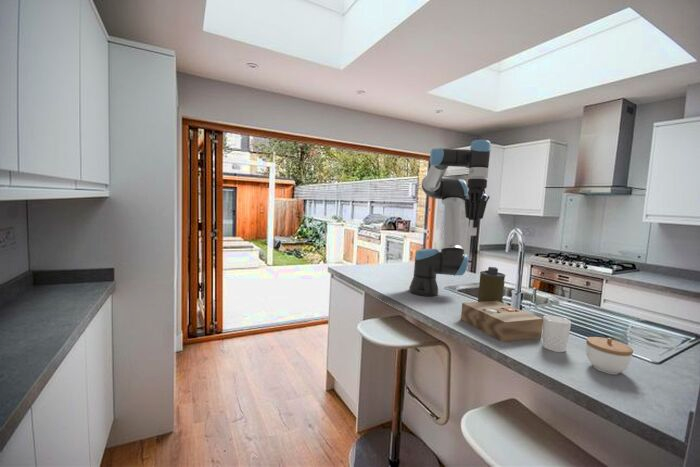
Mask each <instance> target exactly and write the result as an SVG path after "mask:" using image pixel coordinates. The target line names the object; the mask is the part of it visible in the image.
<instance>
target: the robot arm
mask: <svg viewBox="0 0 700 467" xmlns="http://www.w3.org/2000/svg"><path fill="white" fill-rule="evenodd" d="M491 151H492V149H491V141H489V140H487V139H475V140H473V141H472V142H471V143H470V149H466V148H465V149H463V148H462V149H458V148H456V149H455V148H442V147H439V148H438V147H437V148H432V149H431V150H430V154H429V164H430V167H429V169H428V172H427V174H426V175H425V176H424V177H423V178H422V181H421V188H422V191H423V193H424V194H425V195H427V196H428V197H429V198H431V199H435V200H436V199H437V200H441V204H443V206H444V216H443V217H444V221H443V222H444V226H443V227H444V231H443V233H444V235H443V238H444V239H443V242H444V243H443V244H444V246H443V247H442V248H441V251H439V249H438V248H422V249H421V248H420V249H418V250H416V251H415V254H414V268H413V278H412V280H411V281H410V285H409V287H408V291H409V293H410V294H411V293H412V294H413V295H417V296H424V297H435V296H438V295H439V288H438V283H437V275H447V276H463V275H464V274H465V273H466V271H467V269H468V263H469V255H468V254H467V253H465V249H464V248H463V247H462V213H461V212H462V205H463V204H464V212H465V218H467V219H468V220H469V221H468V228H469V229H468V236H471V237H475V236H477V232H478V231H477V229H478V227H479V221H480V220H481V219H483V218H484V215H485V211H486V207H487V204H488V201H489V199H490V195H487V194H486V190H485V189H487V188H488V180H487V179H488V178H489V177H488V175H489V165H490V164H489V163H490V156H491ZM449 167H458V168H461V167H463V168H465V169H466V168H467V169H468V175H467V177H468V180H467V182H466V181H465V180H464V179H462V178H460V179H459V178H444V175H445V174H446V171H447V169H448V168H449Z"/></svg>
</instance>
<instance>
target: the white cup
mask: <svg viewBox="0 0 700 467" xmlns="http://www.w3.org/2000/svg"><path fill="white" fill-rule="evenodd" d="M542 318H543V327H542V336H541V338H542V342H541V344H542V345H541V346H542V347H543V348H544V349H547V350H549V351H552V352H556V353H564V352H566V350H567V345H568V342H569V338H570V331H571V326H572V321H571V320H570V319H568V318H565V317H562V316H558V315H550V314H547V315H546V314H545V315H543V317H542Z"/></svg>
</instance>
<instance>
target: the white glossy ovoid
mask: <svg viewBox="0 0 700 467" xmlns="http://www.w3.org/2000/svg"><path fill="white" fill-rule="evenodd" d="M486 312H489V313H491V314H493V313H497V311H496V310H493V309H486Z"/></svg>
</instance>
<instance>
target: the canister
mask: <svg viewBox="0 0 700 467" xmlns="http://www.w3.org/2000/svg"><path fill="white" fill-rule="evenodd" d="M498 271H499V268H497V267H495V266H488V269H486V270H481V271H480V274H479V275H480V276H479V283H478V294H477V295H478V296H477V302H486V301H499V302H501V303H503V300H504V298H503V297H504V290H505V288H504V286H505V277H506V274H505V273H502V272H498Z"/></svg>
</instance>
